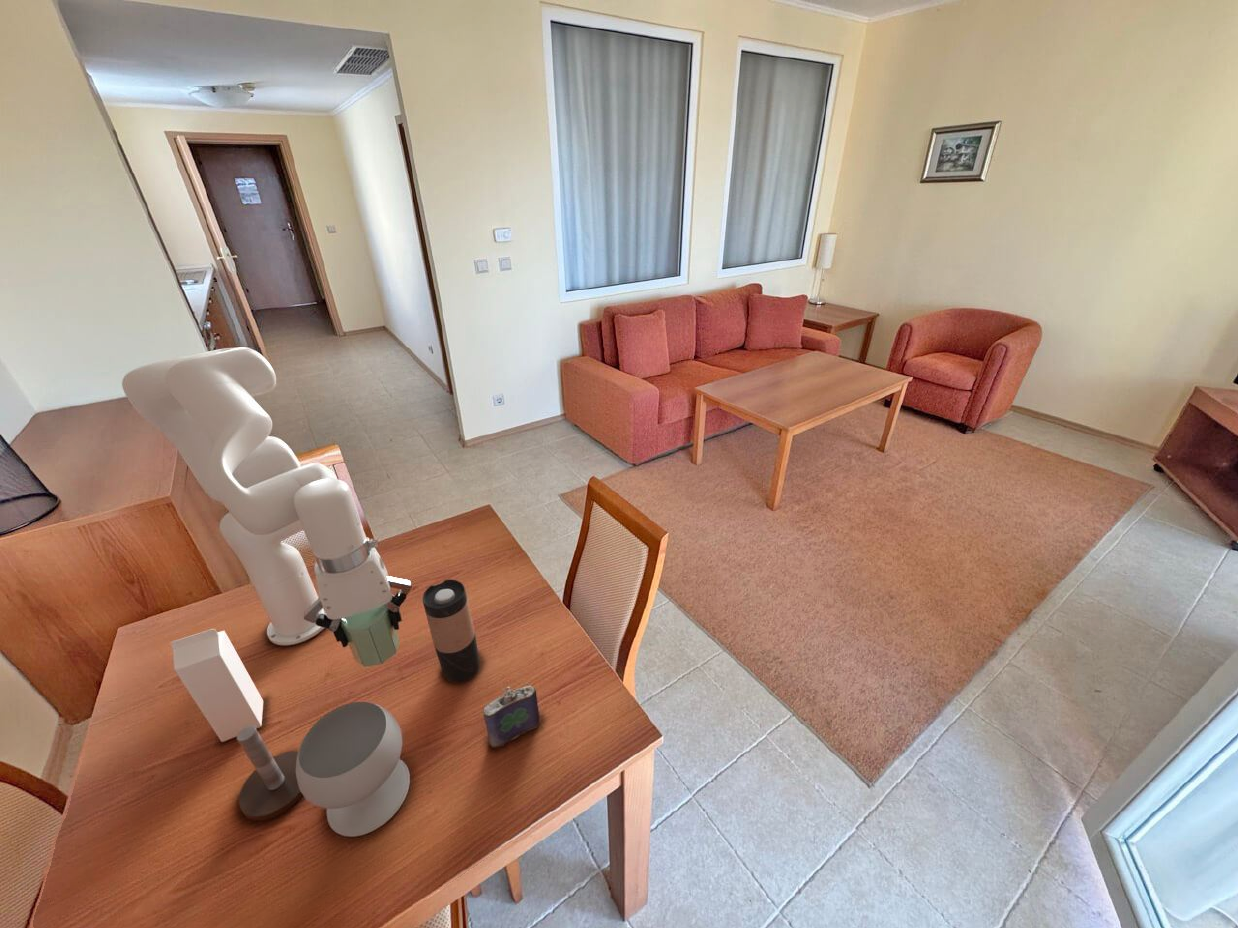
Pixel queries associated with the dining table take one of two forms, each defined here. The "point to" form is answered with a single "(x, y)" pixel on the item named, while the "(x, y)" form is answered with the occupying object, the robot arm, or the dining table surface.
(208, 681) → the milk
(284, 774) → the towel holder
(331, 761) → the chalice
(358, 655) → the green cup
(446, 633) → the travel mug
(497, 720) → the flask
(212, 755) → the dining table surface
